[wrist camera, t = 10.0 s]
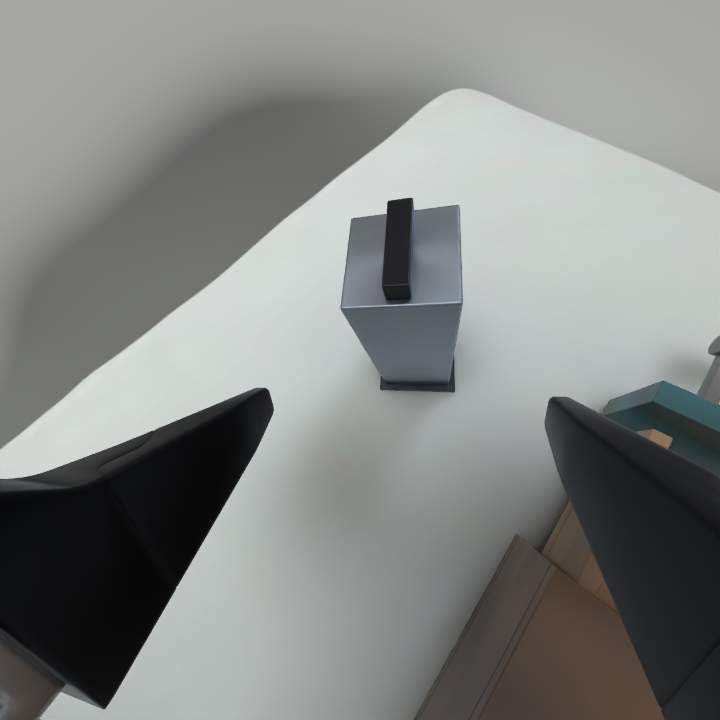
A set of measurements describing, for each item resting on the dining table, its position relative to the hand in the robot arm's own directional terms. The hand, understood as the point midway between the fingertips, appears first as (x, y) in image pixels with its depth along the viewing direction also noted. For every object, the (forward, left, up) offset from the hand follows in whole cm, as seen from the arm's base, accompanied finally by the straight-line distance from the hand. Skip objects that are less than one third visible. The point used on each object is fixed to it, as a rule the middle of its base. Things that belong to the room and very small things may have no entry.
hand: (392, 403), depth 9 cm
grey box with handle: (+3, +5, -12) cm, 14 cm away
